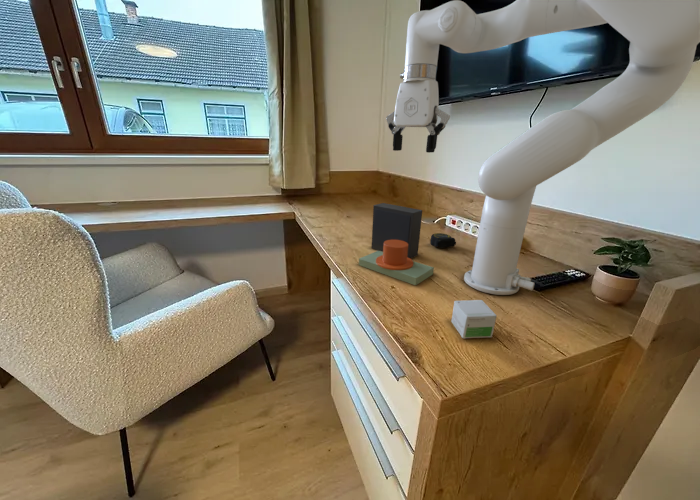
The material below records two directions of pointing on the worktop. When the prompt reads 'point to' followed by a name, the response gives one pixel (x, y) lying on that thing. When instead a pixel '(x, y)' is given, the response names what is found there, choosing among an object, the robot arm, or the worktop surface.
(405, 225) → the dark upright block
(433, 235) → the tape measure
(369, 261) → the stand
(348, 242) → the worktop surface
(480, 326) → the small box
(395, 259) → the hat
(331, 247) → the worktop surface
